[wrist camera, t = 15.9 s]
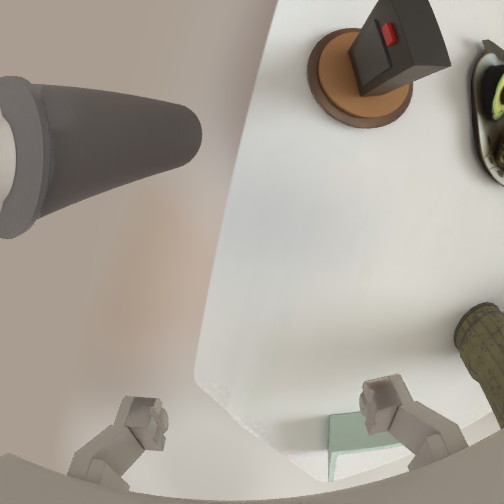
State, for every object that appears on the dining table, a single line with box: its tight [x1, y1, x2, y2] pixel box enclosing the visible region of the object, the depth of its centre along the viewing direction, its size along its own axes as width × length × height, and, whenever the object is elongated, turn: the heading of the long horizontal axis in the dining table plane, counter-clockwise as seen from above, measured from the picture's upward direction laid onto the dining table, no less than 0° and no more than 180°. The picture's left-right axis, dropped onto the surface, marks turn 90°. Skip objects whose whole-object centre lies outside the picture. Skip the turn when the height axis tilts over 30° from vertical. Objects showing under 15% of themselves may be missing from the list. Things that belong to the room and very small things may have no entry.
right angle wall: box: [328, 412, 403, 482], centre depth 40 cm, size 12×12×8 cm
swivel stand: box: [307, 28, 413, 128], centre depth 25 cm, size 11×11×1 cm
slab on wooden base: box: [318, 0, 451, 118], centre depth 17 cm, size 9×9×15 cm
